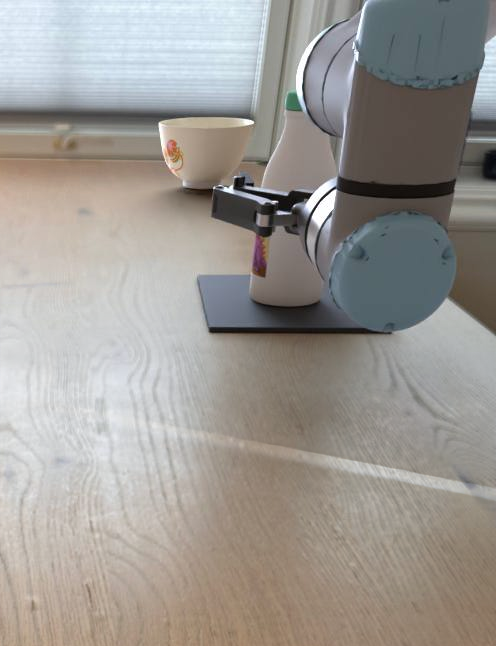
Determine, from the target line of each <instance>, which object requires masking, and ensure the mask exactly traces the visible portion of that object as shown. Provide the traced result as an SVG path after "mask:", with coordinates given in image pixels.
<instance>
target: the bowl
mask: <svg viewBox="0 0 496 646" xmlns="http://www.w3.org/2000/svg"><path fill="white" fill-rule="evenodd" d="M254 125H255V122H254V120H250V119H247V118H238V117H221V116H219V117H217V116H208V117H207V116H206V117H205V116H201V117H198V116H197V117H181V118H171V119H165V120H161V121H159V122H158V130H159V136H160V144H161V150H162V154H163V158H164V161H165V164H166V165H167V167H168V168H169V170H170V172H172V174H174V175H175V176H176V177H177V178H179V179H180V180H182V186H183V188H185V189H190V190H213V188H214V187H216V186H221V182H222V180H224V179H225V178H228V177H229V176H230V175H231V174H232V173H233V172H235V171H236V169H237V168H238V167H239V166H240V164H241V163H242V161H243V159H244V157H245V154H246V152H247V148H248V146H249V142H250V139H251V136H252V132H253V130H254Z"/></svg>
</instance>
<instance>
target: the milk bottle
mask: <svg viewBox="0 0 496 646" xmlns="http://www.w3.org/2000/svg"><path fill="white" fill-rule="evenodd" d="M284 109H285V110H284V112H283V116H284V117H285V122H284V127H283V131H282V133H281V136H280V139H279V141H278V143H277V146H276V147H275V150H274V151H273V153H272V155H271V156H270V158H269V161H268V162H267V165H266V168H265V169H264V174H263V177H262V182H261V185H260V188H263V189H269V190H275V191H281V192H287V193H289V192H290V191H292V190H298V189H309V190H315V191H317V190H318V189H319V188H320V187H321V186H322V185H323V184H325V183H326V182H327V181H329V180H331V179H333V178H335V177H337V176H338V173H337V167H336V161H335V158H334V154H333V150H332V147H331V142H330V141H331V140H330V136H329V134H327V133H323V132H322V131H321V130H320V129H319V127H318V126H315V125H314V124H313V123H312V122H311V120H310V119H309V117H308V116H307V115H306V114H305V113H304V112H303V110H302V107H301V105H300V102H299V99H298V95H297V89H291V90H288V91H287V92H286V95H285V101H284ZM307 200H309V199H304V201H307ZM251 261H252V263H251V272H250V275H251V280H250V296H251V299H253V300H254V301H256V302H259V303H263V304H267V305H274V306H304V305H310V304H313V303H316V302H318V300H319V299H320V297H321V295H322V290H323V284H324V280H323V279H322V277H321V275H320V274H319V272H318V271H317V269H316V268H315V266H314V265H313V264H312V262H311V261H310V259H309V258H308V256H307V255H306V253H305V251H304V249H303V246H302V243H301V240H300V236H299V235H294V234H289V233H287V232H286V231H285V229H284V227H283V226H276V228H275V232H274V233H272V236H270V237H266V238H263V237H261V236H258V235H257V234H256V233H254V244H253V252H252V260H251Z"/></svg>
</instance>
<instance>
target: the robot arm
mask: <svg viewBox="0 0 496 646" xmlns="http://www.w3.org/2000/svg"><path fill="white" fill-rule="evenodd" d="M495 37H496V0H366V1H365V2H364V5H363V7H362V8H361V10H359V11H358V12H357V13H356V14H355V15H353V17H350V18H344V19H343V20H340V21H338V22H335V23H333V24H331V26H329V27H326V28H325V29H324V30H322V31H321V32H320V33H319V34H318V35H317V36H315V37H314V39H312V41H311V42H310V43H309V45H308V46H307V48H306V49H305V51H304V53H303V55H302V57H301V59H300V62H299V65H298V68H297V72H296V85H295V86H296V90H297V95H298V99H299V102H300V105H301V107H302V110H303V112H304V113H305V114H306V115H307V116H308V117H309V119H310V120H311V122H312V123H313V124H314V125H315V126H318V127H319V129H320V130H321V131H322V132H323V133H327V134H329V137H334V138H339V139H342V143H341V150H340V157H339V167H338V168H339V169H338V173H337V177H335V178H333V179H331V180H329V181H327V182H326V183H325V184H323V185H322V186H321V187H320V188H319V189H318V190H317V191H315V190H309V189H298V190H292V191H290V192H289V193H287V192H281V191H275V190H269V189H263V188H261V187H256V186H255V181H254V180H253V178H252V177H251V175H250V173H249V172H248V171H239V173H238V175H236V176H233V181H232V185H230V186H229V187H226V186H224V185H220V186H216V187H214V188H213V189H212V200H211V209H210V210H211V213H210V218H213V219H214V220H219V221H221V222H223V223H224V222H225V223H226V224H231V225H234V226H236V227H239V228H242V229H245V230H248V231H251V232H253V233H254V234H255V233H256V234H257V235H258V236H261V237H263V238H266V237H270V236H272V233H274V232H275V228H276V226H283V227H284V229H285V231H286V232H287V233H289V234H294V235H299V236H300V240H301V243H302V246H303V249H304V251H305V253H306V255H307V256H308V258H309V259H310V261H311V262H312V264H313V265H314V266H315V268H316V269H317V271H318V272H319V274H320V275H321V277H322V279H323V280H324V281H325V282H326V284H327V286H328V288H329V290H330V291H329V292H330V294H331V296H332V299H333V302H334V303H335V305H336V306H337V307H338V308H339V309H341V310H342V312H343V313H345V314H346V315H347V316H348V317H349V318H350V319H352V320H353V321H354V322H356V323H357V324H359V325H361V326H362V327H365V328H367V329H370V330H373V331H379V332H385V333H384V334H388V333H387V332H392V333H394V332H400V331H404V330H407V329H410V328H413V327H415V326H417V325H419V324H422V322H424V321H426V320H427V319H428V318H430V317H431V316H432V315H433V314H434V313H435V312H436V311H437V310H438V309H439V308H441V306H442V304H443V303H444V302H445V300H447V298H448V296H449V295H450V292H451V290H452V288H453V285H454V282H455V278H456V274H457V265H458V264H457V263H458V261H457V254H456V250H455V247H454V244H453V240H452V239H451V236H450V235H449V231H448V226H449V222H450V217H451V213H452V207H453V202H454V197H455V192H456V190H455V188H456V183H457V177H458V173H459V168H460V163H461V157H462V154H463V149H464V145H465V141H466V136H467V132H468V126H469V122H470V117H471V113H472V109H473V103H474V100H475V95H476V92H477V91H476V90H477V86H478V82H479V77H480V73H481V70H482V69H483V67H484V63H485V59H486V51H485V48H486V47H485V46H486V45H487V43H488V42H490V41H491V40H492V39H494V38H495ZM304 199H309V200H307V201H304Z"/></svg>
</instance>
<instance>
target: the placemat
mask: <svg viewBox="0 0 496 646" xmlns="http://www.w3.org/2000/svg"><path fill="white" fill-rule="evenodd" d="M250 280H251V274H196V281H197V284H198V289H199V294H200V298H201V302H202V307H203V311H204V316H205V320H206V324H207V325H206V326H207V328H208V329H207V330H208V332H209V333H338V334H339V333H344V334H345V333H349V334H350V333H353V334H358V333H361V334H363V333H364V334H365V333H366V334H367V333H368V334H369V333H370V334H372V333H373V334H390V333H391V334H392V333H393V332H387V333H385V332H379V331H373V330H370V329H367V328H365V327H362V326H361V325H359V324H357V323H356V322H354V321H353V320H352V319H350V318H349V317H348V316H347V315H346V314H345V313H343V312H342V310H341V309H339V308H338V307H337V306H336V305H335V303H334V302H333V299H332V296H331V294H330V292H329V291H330V290H329V288H328V286H327V284H326V282H325V281H324V284H323V290H322V295H321V297H320V299H319V300H318V302H316V303H313V304H310V305H304V306H274V305H267V304H263V303H259V302H256V301H254V300H253V299H251V296H250Z"/></svg>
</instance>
